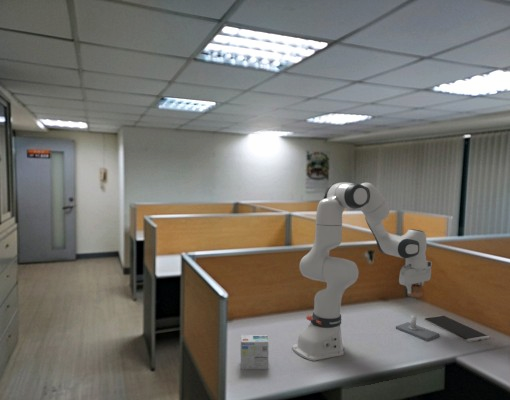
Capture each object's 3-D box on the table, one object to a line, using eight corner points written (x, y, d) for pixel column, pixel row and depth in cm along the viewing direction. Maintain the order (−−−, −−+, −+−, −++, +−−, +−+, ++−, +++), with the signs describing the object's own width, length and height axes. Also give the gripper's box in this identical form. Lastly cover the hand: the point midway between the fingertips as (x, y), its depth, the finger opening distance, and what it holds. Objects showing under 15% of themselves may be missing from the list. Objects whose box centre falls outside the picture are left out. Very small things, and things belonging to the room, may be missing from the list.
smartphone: (468, 343, 158) (468, 340, 158) (422, 320, 184) (422, 317, 184) (490, 340, 162) (490, 336, 162) (443, 318, 188) (443, 314, 187)
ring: (416, 298, 164) (417, 287, 164) (405, 294, 169) (405, 284, 169) (424, 296, 167) (424, 285, 167) (412, 293, 172) (413, 282, 172)
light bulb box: (267, 360, 140) (267, 334, 139) (268, 369, 133) (269, 341, 132) (240, 361, 139) (240, 334, 139) (240, 370, 133) (240, 341, 132)
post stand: (426, 341, 158) (427, 325, 158) (395, 328, 172) (396, 314, 171) (439, 336, 164) (439, 320, 163) (408, 324, 177) (408, 310, 177)
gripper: (408, 267, 159) (407, 297, 160) (434, 262, 170) (433, 290, 171) (395, 264, 165) (395, 293, 165) (421, 259, 176) (420, 287, 176)
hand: (414, 292), depth 168 cm, fingers closed on ring, 6 cm apart
